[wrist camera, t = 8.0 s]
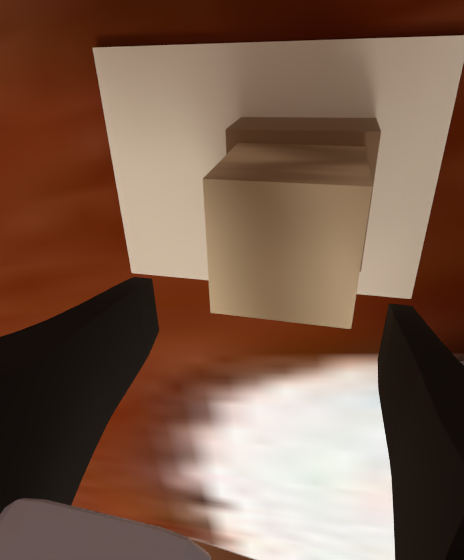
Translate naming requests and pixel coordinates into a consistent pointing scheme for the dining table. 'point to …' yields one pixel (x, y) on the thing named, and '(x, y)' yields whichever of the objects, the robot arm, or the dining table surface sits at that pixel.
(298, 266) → the maple cube
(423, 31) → the dining table surface
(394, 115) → the build board
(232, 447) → the dining table surface
